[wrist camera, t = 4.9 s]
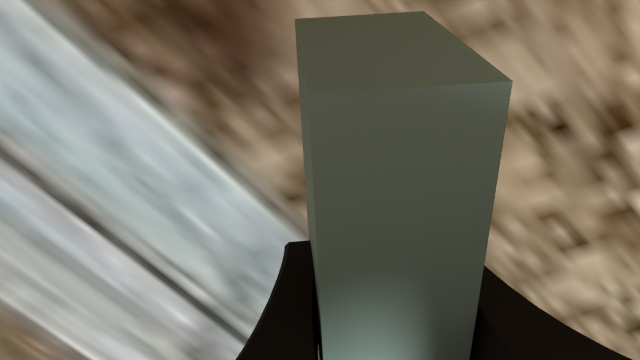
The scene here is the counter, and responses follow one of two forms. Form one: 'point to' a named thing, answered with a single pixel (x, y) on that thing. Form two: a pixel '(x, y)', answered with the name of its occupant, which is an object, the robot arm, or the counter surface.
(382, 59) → the rectangular block
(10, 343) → the counter surface
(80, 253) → the counter surface
